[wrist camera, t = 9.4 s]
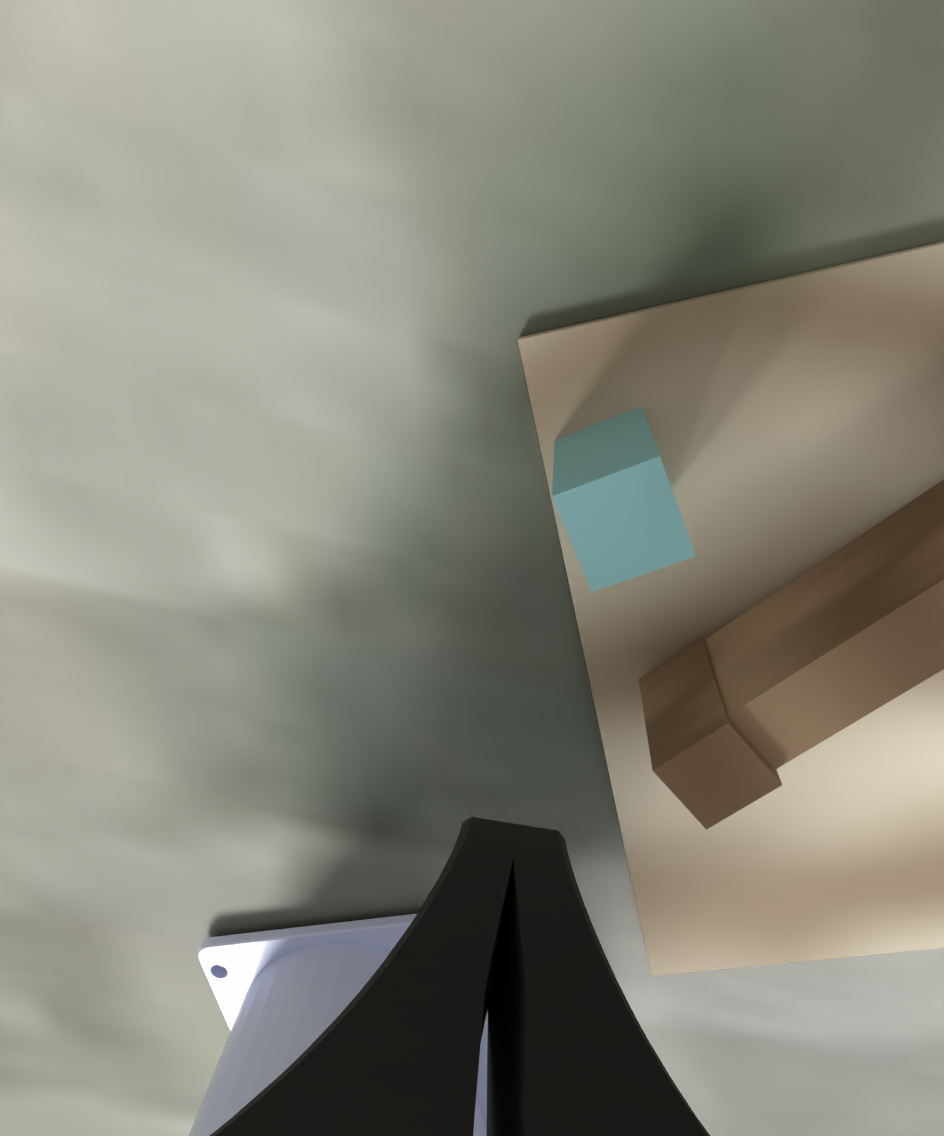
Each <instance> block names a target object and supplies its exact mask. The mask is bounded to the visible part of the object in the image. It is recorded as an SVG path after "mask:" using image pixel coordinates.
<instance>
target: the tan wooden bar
mask: <svg viewBox="0 0 944 1136" xmlns="http://www.w3.org/2000/svg"><path fill="white" fill-rule="evenodd" d="M943 669H944V480H942V481H941V482H939V483H938V484H936V485H935V486H933V487H932V488H930V489H929V490H927V491H926V492H924V493H923V494H921V495H920V496H918V497H917V498H915V499H914V500H912V501H911V502H909V503H908V504H906V505H905V506H903V507H902V508H900V509H899V510H897V511H896V512H894V513H893V514H891V515H890V516H888V517H887V518H885V519H884V520H882V521H881V522H879V523H878V524H876V525H875V526H874V527H872V528H871V529H869V530H868V531H866V532H865V533H863V534H862V535H860V536H859V537H857V538H856V539H854V540H853V541H851V542H850V543H848V544H847V545H845V546H844V547H842V548H841V549H839V550H838V551H836V552H835V553H833V554H832V555H830V556H829V557H827V558H826V559H824V560H823V561H821V562H820V563H818V564H817V565H815V566H814V567H812V568H811V569H809V570H808V571H806V572H805V573H803V574H802V575H800V576H799V577H797V578H796V579H794V580H793V581H791V582H790V583H788V584H787V585H785V586H784V587H782V588H781V589H779V590H778V591H776V592H775V593H773V594H772V595H770V596H769V597H767V598H766V599H764V600H763V601H761V602H760V603H759V604H757V605H756V606H754V607H753V608H751V609H750V610H748V611H747V612H745V613H744V614H742V615H741V616H739V617H738V618H736V619H735V620H733V621H732V622H730V623H729V624H727V625H726V626H724V627H723V628H721V629H720V630H718V631H717V632H715V633H714V634H712V635H711V636H709V637H708V638H706V639H705V640H704V639H703V638H702V637H701V638H699V639H698V640H696V641H695V642H693V643H692V644H690V645H689V646H687V647H686V648H684V649H683V650H681V651H680V652H678V653H677V654H675V655H674V656H672V657H671V658H669V659H668V660H666V661H665V662H663V663H662V664H660V665H659V666H657V667H656V668H654V669H653V670H651V671H650V672H648V673H647V674H646V675H644V676H643V677H641V678H640V679H639V686H640V692H641V699H642V705H643V712H644V719H645V725H646V732H647V738H648V745H649V751H650V758H651V764H652V771H653V772H654V773H655V774H656V775H657V776H658V777H659V778H660V779H661V780H662V782H663V783H664V784H665V785H666V786H667V787H668V788H669V789H670V790H671V791H672V793H673V794H674V795H675V796H676V797H677V798H678V799H679V800H680V801H681V802H682V804H683V805H684V806H685V807H686V808H687V809H688V810H689V811H690V812H691V813H692V815H693V816H694V817H695V818H696V819H697V820H698V821H699V822H700V823H701V824H702V825H703V827H704V828H705V829H706V830H707V829H709V828H710V827H712V826H714V825H715V824H717V823H719V822H720V821H722V820H724V819H726V818H727V817H729V816H731V815H732V814H734V813H736V812H737V811H739V810H741V809H743V808H744V807H746V806H748V805H749V804H751V803H753V802H754V801H756V800H758V799H760V798H761V797H763V796H765V795H766V794H768V793H770V792H771V791H773V790H775V789H777V788H778V787H780V786H782V783H781V780H780V777H779V775H778V772H777V768H779V767H781V766H782V765H784V764H786V763H787V762H789V761H791V760H792V759H794V758H796V757H797V756H799V755H801V754H802V753H804V752H806V751H807V750H809V749H811V748H812V747H814V746H816V745H818V744H819V743H821V742H823V741H824V740H826V739H828V738H829V737H831V736H833V735H834V734H836V733H838V732H839V731H841V730H843V729H844V728H846V727H848V726H849V725H851V724H853V723H854V722H856V721H858V720H859V719H861V718H863V717H864V716H866V715H868V714H870V713H871V712H873V711H875V710H876V709H878V708H880V707H881V706H883V705H885V704H886V703H888V702H890V701H891V700H893V699H895V698H896V697H898V696H900V695H901V694H903V693H905V692H906V691H908V690H910V689H911V688H913V687H915V686H916V685H918V684H920V683H922V682H923V681H925V680H927V679H928V678H930V677H932V676H933V675H935V674H937V673H938V672H940V671H942V670H943Z"/></svg>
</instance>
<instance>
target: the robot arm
mask: <svg viewBox="0 0 944 1136" xmlns="http://www.w3.org/2000/svg"><path fill="white" fill-rule="evenodd" d="M198 958H199V961H200V963H201V966H202V968H203V970H204V973H205V975H206V977H207V979H208V982H209V984H210V986H211V988H212V991H213V993H214V995H215V997H216V1000H217V1002H218V1004H219V1006H220V1009H221V1011H222V1013H223V1016H224V1018H225V1020H226V1022H227V1025H228V1027H229V1029H230V1031H231V1032H230V1035H229V1037H228V1040H227V1042H226V1045H225V1047H224V1050H223V1052H222V1055H221V1057H220V1059H219V1062H218V1064H217V1067H216V1069H215V1072H214V1074H213V1077H212V1079H211V1082H210V1084H209V1087H208V1089H207V1092H206V1094H205V1097H204V1099H203V1102H202V1104H201V1107H200V1109H199V1111H198V1114H197V1116H196V1119H195V1121H194V1124H193V1126H192V1129H191V1131H190V1134H189V1136H710V1135H709V1133H708V1132H707V1131H706V1129H705V1128H704V1127H703V1125H702V1124H701V1123H700V1121H699V1120H698V1118H697V1117H696V1116H695V1114H694V1113H693V1111H692V1110H691V1108H690V1107H689V1105H688V1103H687V1102H686V1100H685V1099H684V1097H683V1096H682V1094H681V1093H680V1091H679V1090H678V1088H677V1087H676V1085H675V1083H674V1082H673V1080H672V1079H671V1077H670V1076H669V1074H668V1072H667V1071H666V1069H665V1067H664V1066H663V1064H662V1062H661V1061H660V1059H659V1057H658V1056H657V1054H656V1052H655V1051H654V1049H653V1047H652V1046H651V1044H650V1042H649V1041H648V1039H647V1037H646V1035H645V1033H644V1032H643V1030H642V1028H641V1026H640V1024H639V1023H638V1021H637V1019H636V1017H635V1015H634V1013H633V1011H632V1009H631V1007H630V1006H629V1004H628V1002H627V1000H626V998H625V996H624V994H623V992H622V990H621V988H620V986H619V984H618V982H617V980H616V978H615V975H614V973H613V971H612V969H611V967H610V965H609V963H608V960H607V958H606V956H605V954H604V951H603V949H602V947H601V944H600V942H599V940H598V937H597V935H596V933H595V930H594V928H593V925H592V923H591V921H590V918H589V916H588V913H587V910H586V908H585V905H584V903H583V900H582V897H581V894H580V891H579V888H578V886H577V883H576V880H575V877H574V873H573V870H572V867H571V863H570V860H569V856H568V852H567V848H566V844H565V839H564V838H563V836H562V835H561V834H560V833H559V831H556V830H550V829H543V828H537V827H531V826H525V825H518V824H512V823H506V822H499V821H493V820H487V819H481V818H474V817H471V818H469V819H468V820H466V821H464V822H463V823H462V827H461V830H460V834H459V836H458V839H457V842H456V844H455V847H454V849H453V851H452V853H451V855H450V857H449V859H448V862H447V863H446V865H445V867H444V869H443V871H442V873H441V875H440V877H439V879H438V880H437V882H436V884H435V885H434V887H433V889H432V890H431V892H430V894H429V895H428V897H427V899H426V900H425V902H424V903H423V905H422V907H421V908H420V910H419V912H418V913H417V914H409V915H401V916H392V917H383V918H374V919H365V920H357V921H348V922H339V923H330V924H322V925H313V926H304V927H295V928H287V929H278V930H269V931H260V932H252V933H243V934H234V935H225V936H217V937H211V938H207V939H206V940H205V941H204V942H203V943H202V945H201V947H200V949H199V952H198ZM218 965H221V966H223V967H225V968H223V967H220V966H218ZM487 1009H488V1012H487Z"/></svg>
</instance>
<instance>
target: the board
mask: <svg viewBox="0 0 944 1136" xmlns="http://www.w3.org/2000/svg"><path fill="white" fill-rule="evenodd" d="M518 344H519V349H520V354H521V358H522V363H523V368H524V373H525V377H526V382H527V387H528V392H529V396H530V401H531V406H532V411H533V415H534V420H535V425H536V430H537V434H538V439H539V444H540V448H541V453H542V458H543V463H544V467H545V472H546V477H547V482H548V486H549V491H550V496H551V501H552V505H553V510H554V515H555V520H556V524H557V529H558V534H559V539H560V543H561V548H562V553H563V558H564V562H565V567H566V572H567V577H568V581H569V586H570V591H571V596H572V600H573V605H574V610H575V615H576V619H577V624H578V629H579V634H580V638H581V643H582V648H583V653H584V657H585V662H586V667H587V672H588V676H589V681H590V686H591V691H592V695H593V700H594V705H595V710H596V714H597V719H598V724H599V729H600V733H601V738H602V743H603V748H604V752H605V757H606V762H607V767H608V771H609V776H610V781H611V786H612V790H613V795H614V800H615V804H616V809H617V814H618V819H619V823H620V828H621V833H622V838H623V842H624V847H625V852H626V857H627V861H628V866H629V871H630V876H631V880H632V885H633V890H634V895H635V899H636V904H637V909H638V914H639V918H640V923H641V928H642V933H643V937H644V942H645V947H646V952H647V956H648V961H649V966H650V971H651V975H652V976H656V975H666V974H676V973H687V972H697V971H707V970H718V969H728V968H738V967H749V966H759V965H769V964H780V963H790V962H800V961H810V960H821V959H831V958H841V957H852V956H862V955H872V954H883V953H893V952H903V951H914V950H924V949H934V948H944V669H943V670H942V671H940V672H938V673H937V674H935V675H933V676H932V677H930V678H928V679H927V680H925V681H923V682H922V683H920V684H918V685H916V686H915V687H913V688H911V689H910V690H908V691H906V692H905V693H903V694H901V695H900V696H898V697H896V698H895V699H893V700H891V701H890V702H888V703H886V704H885V705H883V706H881V707H880V708H878V709H876V710H875V711H873V712H871V713H870V714H868V715H866V716H864V717H863V718H861V719H859V720H858V721H856V722H854V723H853V724H851V725H849V726H848V727H846V728H844V729H843V730H841V731H839V732H838V733H836V734H834V735H833V736H831V737H829V738H828V739H826V740H824V741H823V742H821V743H819V744H818V745H816V746H814V747H812V748H811V749H809V750H807V751H806V752H804V753H802V754H801V755H799V756H797V757H796V758H794V759H792V760H791V761H789V762H787V763H786V764H784V765H782V766H781V767H779V768H777V772H778V775H779V777H780V780H781V783H782V786H780V787H778V788H777V789H775V790H773V791H771V792H770V793H768V794H766V795H765V796H763V797H761V798H760V799H758V800H756V801H754V802H753V803H751V804H749V805H748V806H746V807H744V808H743V809H741V810H739V811H737V812H736V813H734V814H732V815H731V816H729V817H727V818H726V819H724V820H722V821H720V822H719V823H717V824H715V825H714V826H712V827H710V828H709V829H707V830H706V829H705V828H704V827H703V825H702V824H701V823H700V822H699V821H698V820H697V819H696V818H695V817H694V816H693V815H692V813H691V812H690V811H689V810H688V809H687V808H686V807H685V806H684V805H683V804H682V802H681V801H680V800H679V799H678V798H677V797H676V796H675V795H674V794H673V793H672V791H671V790H670V789H669V788H668V787H667V786H666V785H665V784H664V783H663V782H662V780H661V779H660V778H659V777H658V776H657V775H656V774H655V773H654V772H653V771H652V764H651V758H650V751H649V745H648V738H647V732H646V725H645V719H644V712H643V705H642V699H641V692H640V686H639V679H640V678H641V677H643V676H644V675H646V674H647V673H648V672H650V671H651V670H653V669H654V668H656V667H657V666H659V665H660V664H662V663H663V662H665V661H666V660H668V659H669V658H671V657H672V656H674V655H675V654H677V653H678V652H680V651H681V650H683V649H684V648H686V647H687V646H689V645H690V644H692V643H693V642H695V641H696V640H698V639H699V638H701V637H702V638H703V639H704V640H705V639H706V638H708V637H709V636H711V635H712V634H714V633H715V632H717V631H718V630H720V629H721V628H723V627H724V626H726V625H727V624H729V623H730V622H732V621H733V620H735V619H736V618H738V617H739V616H741V615H742V614H744V613H745V612H747V611H748V610H750V609H751V608H753V607H754V606H756V605H757V604H759V603H760V602H761V601H763V600H764V599H766V598H767V597H769V596H770V595H772V594H773V593H775V592H776V591H778V590H779V589H781V588H782V587H784V586H785V585H787V584H788V583H790V582H791V581H793V580H794V579H796V578H797V577H799V576H800V575H802V574H803V573H805V572H806V571H808V570H809V569H811V568H812V567H814V566H815V565H817V564H818V563H820V562H821V561H823V560H824V559H826V558H827V557H829V556H830V555H832V554H833V553H835V552H836V551H838V550H839V549H841V548H842V547H844V546H845V545H847V544H848V543H850V542H851V541H853V540H854V539H856V538H857V537H859V536H860V535H862V534H863V533H865V532H866V531H868V530H869V529H871V528H872V527H874V526H875V525H876V524H878V523H879V522H881V521H882V520H884V519H885V518H887V517H888V516H890V515H891V514H893V513H894V512H896V511H897V510H899V509H900V508H902V507H903V506H905V505H906V504H908V503H909V502H911V501H912V500H914V499H915V498H917V497H918V496H920V495H921V494H923V493H924V492H926V491H927V490H929V489H930V488H932V487H933V486H935V485H936V484H938V483H939V482H941V481H942V480H944V241H942V242H938V243H934V244H929V245H925V246H920V247H916V248H911V249H907V250H903V251H898V252H894V253H889V254H885V255H881V256H876V257H872V258H867V259H863V260H858V261H854V262H850V263H845V264H841V265H836V266H832V267H828V268H823V269H819V270H814V271H810V272H805V273H801V274H797V275H792V276H788V277H783V278H779V279H775V280H770V281H766V282H761V283H757V284H752V285H748V286H744V287H739V288H735V289H730V290H726V291H722V292H717V293H713V294H708V295H704V296H699V297H695V298H691V299H686V300H682V301H677V302H673V303H669V304H664V305H660V306H655V307H651V308H646V309H642V310H638V311H633V312H629V313H624V314H620V315H616V316H611V317H607V318H602V319H598V320H593V321H589V322H585V323H580V324H576V325H571V326H567V327H562V328H558V329H554V330H549V331H545V332H540V333H536V334H532V335H527V336H523V337H519V338H518ZM641 406H642V409H643V412H644V415H645V417H646V420H647V423H648V425H649V428H650V431H651V433H652V436H653V439H654V441H655V444H656V447H657V449H658V452H659V455H660V457H661V460H662V463H663V466H664V468H665V471H666V474H667V477H668V480H669V482H670V485H671V488H672V491H673V493H674V496H675V499H676V502H677V504H678V507H679V510H680V513H681V515H682V518H683V521H684V524H685V527H686V529H687V532H688V535H689V538H690V540H691V543H692V546H693V549H694V551H695V554H696V557H693V558H690V559H687V560H684V561H681V562H678V563H675V564H672V565H669V566H666V567H664V568H661V569H658V570H655V571H652V572H649V573H646V574H643V575H640V576H637V577H635V578H632V579H629V580H626V581H623V582H620V583H617V584H614V585H611V586H608V587H605V588H603V589H600V590H597V591H594V592H591V590H590V588H589V585H588V583H587V581H586V578H585V576H584V573H583V571H582V568H581V566H580V563H579V561H578V559H577V556H576V554H575V551H574V549H573V546H572V544H571V541H570V539H569V537H568V534H567V532H566V529H565V527H564V524H563V522H562V520H561V517H560V515H559V512H558V510H557V507H556V505H555V502H554V500H553V498H552V486H553V464H554V442H555V440H556V439H559V438H561V437H564V436H566V435H569V434H572V433H574V432H577V431H579V430H582V429H584V428H587V427H590V426H592V425H595V424H597V423H600V422H602V421H605V420H608V419H610V418H613V417H615V416H618V415H620V414H623V413H625V412H628V411H631V410H633V409H636V408H638V407H641Z"/></svg>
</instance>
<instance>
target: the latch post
mask: <svg viewBox="0 0 944 1136" xmlns="http://www.w3.org/2000/svg"><path fill="white" fill-rule="evenodd" d="M552 498H553V500H554V502H555V505H556V507H557V510H558V512H559V515H560V517H561V520H562V522H563V524H564V527H565V529H566V532H567V534H568V537H569V539H570V541H571V544H572V546H573V549H574V551H575V554H576V556H577V559H578V561H579V563H580V566H581V568H582V571H583V573H584V576H585V578H586V581H587V583H588V585H589V588H590V590H591V592H594V591H597V590H600V589H603V588H605V587H608V586H611V585H614V584H617V583H620V582H623V581H626V580H629V579H632V578H635V577H637V576H640V575H643V574H646V573H649V572H652V571H655V570H658V569H661V568H664V567H666V566H669V565H672V564H675V563H678V562H681V561H684V560H687V559H690V558H693V557H696V554H695V551H694V549H693V546H692V543H691V540H690V538H689V535H688V532H687V529H686V527H685V524H684V521H683V518H682V515H681V513H680V510H679V507H678V504H677V502H676V499H675V496H674V493H673V491H672V488H671V485H670V482H669V480H668V477H667V474H666V471H665V468H664V466H663V463H662V460H661V457H660V455H659V452H658V449H657V447H656V444H655V441H654V439H653V436H652V433H651V431H650V428H649V425H648V423H647V420H646V417H645V415H644V412H643V409H642V406H641V407H638V408H636V409H633V410H631V411H628V412H625V413H623V414H620V415H618V416H615V417H613V418H610V419H608V420H605V421H602V422H600V423H597V424H595V425H592V426H590V427H587V428H584V429H582V430H579V431H577V432H574V433H572V434H569V435H566V436H564V437H561V438H559V439H556V440H555V442H554V464H553V486H552Z"/></svg>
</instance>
